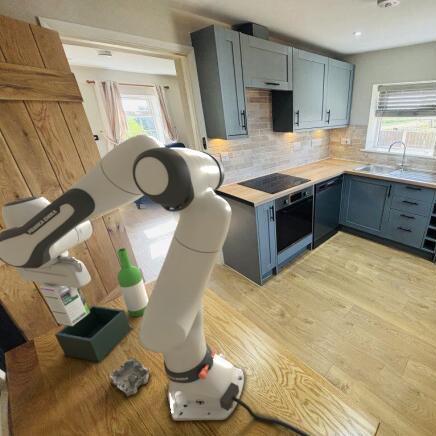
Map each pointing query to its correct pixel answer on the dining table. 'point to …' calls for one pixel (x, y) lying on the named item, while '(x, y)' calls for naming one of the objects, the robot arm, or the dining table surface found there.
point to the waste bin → (94, 333)
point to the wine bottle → (131, 285)
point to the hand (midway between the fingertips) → (63, 293)
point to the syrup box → (65, 304)
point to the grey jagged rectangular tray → (130, 376)
